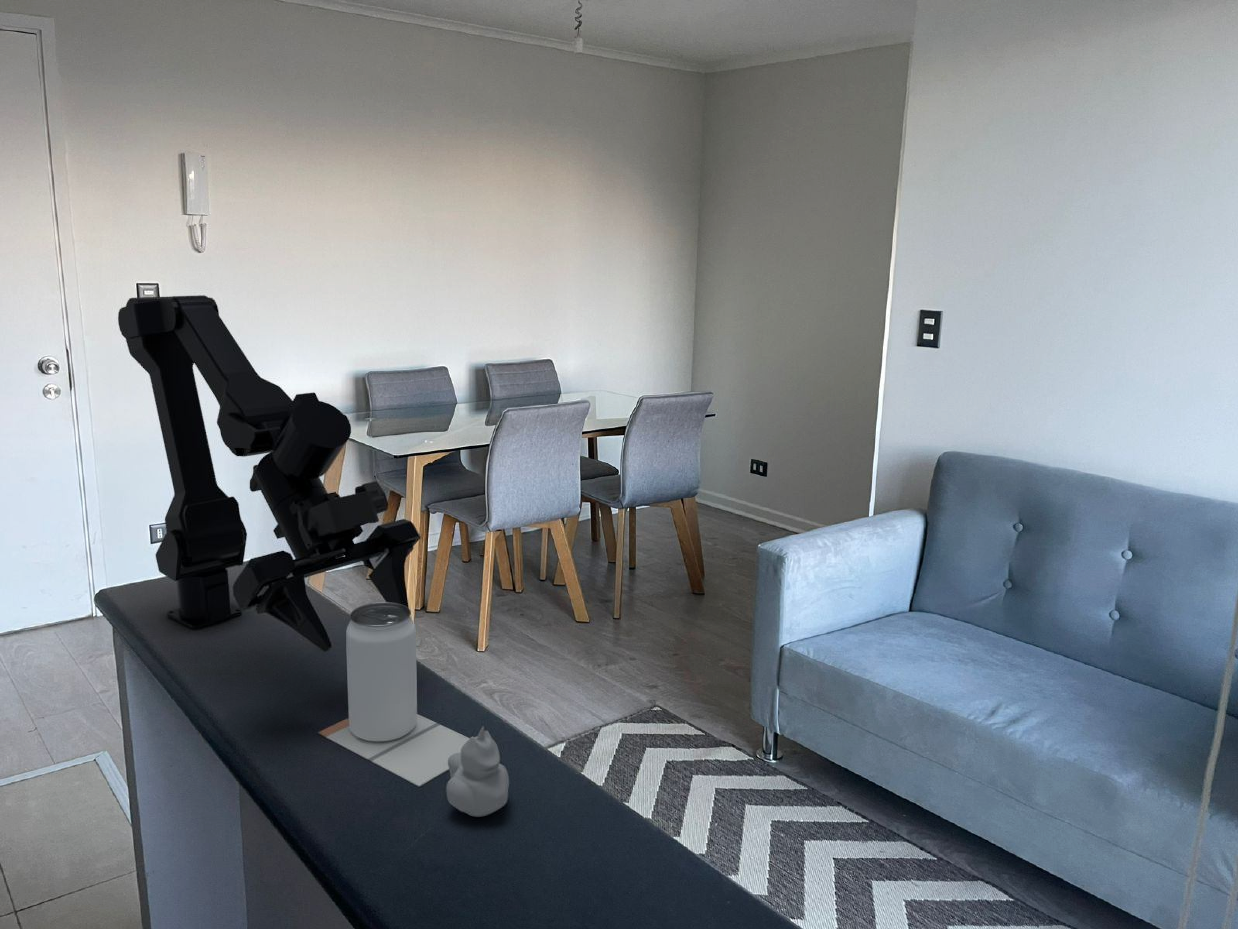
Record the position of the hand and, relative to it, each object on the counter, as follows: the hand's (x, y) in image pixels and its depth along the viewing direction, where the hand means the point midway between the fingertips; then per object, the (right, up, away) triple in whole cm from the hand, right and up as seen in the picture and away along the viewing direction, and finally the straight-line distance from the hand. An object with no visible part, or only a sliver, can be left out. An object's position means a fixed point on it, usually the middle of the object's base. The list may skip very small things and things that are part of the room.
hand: (369, 634), depth 94 cm
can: (+1, -9, 0) cm, 9 cm away
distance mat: (+4, -10, -2) cm, 11 cm away
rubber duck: (+12, -13, -12) cm, 21 cm away
